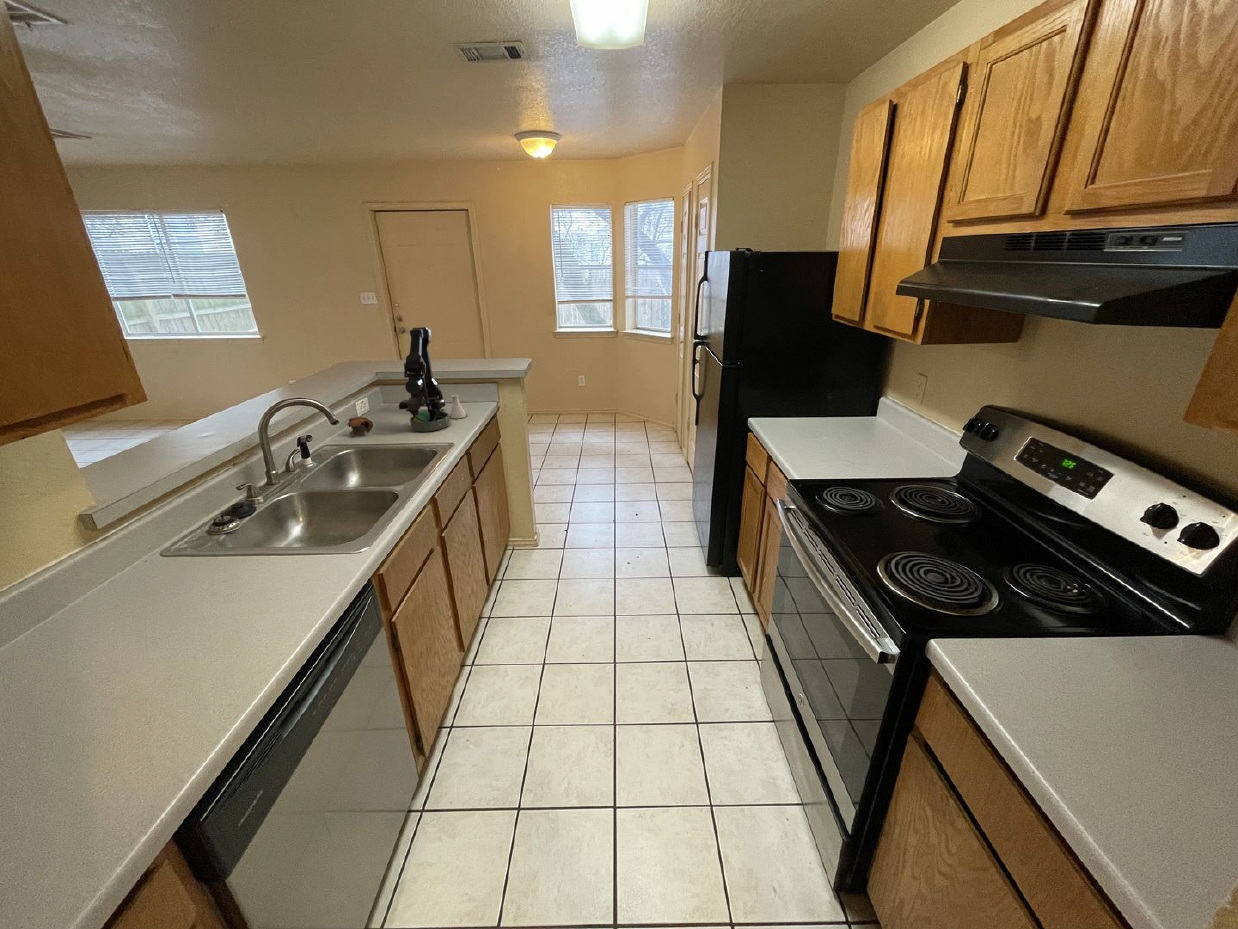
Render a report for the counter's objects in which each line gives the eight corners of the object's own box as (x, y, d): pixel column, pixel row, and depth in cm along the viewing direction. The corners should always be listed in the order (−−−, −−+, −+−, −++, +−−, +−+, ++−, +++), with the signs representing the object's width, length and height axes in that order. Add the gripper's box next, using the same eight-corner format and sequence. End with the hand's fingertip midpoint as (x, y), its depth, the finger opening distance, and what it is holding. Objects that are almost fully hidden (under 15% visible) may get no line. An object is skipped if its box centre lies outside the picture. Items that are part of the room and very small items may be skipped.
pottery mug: (343, 438, 212) (341, 419, 213) (360, 441, 221) (358, 423, 222) (366, 432, 209) (364, 413, 210) (383, 435, 218) (381, 416, 219)
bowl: (422, 420, 230) (420, 411, 228) (456, 421, 228) (454, 411, 226) (404, 432, 215) (402, 422, 214) (440, 432, 213) (438, 422, 212)
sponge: (422, 415, 225) (424, 410, 224) (434, 421, 226) (436, 415, 224) (412, 421, 217) (414, 415, 216) (424, 427, 217) (426, 421, 216)
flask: (463, 418, 231) (460, 397, 228) (448, 419, 232) (444, 397, 228) (468, 414, 238) (465, 393, 234) (453, 414, 238) (449, 393, 234)
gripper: (388, 393, 209) (395, 429, 215) (430, 393, 207) (437, 429, 213) (402, 386, 220) (409, 421, 226) (442, 386, 217) (448, 421, 223)
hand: (425, 423), depth 222 cm, fingers closed on sponge, 6 cm apart
